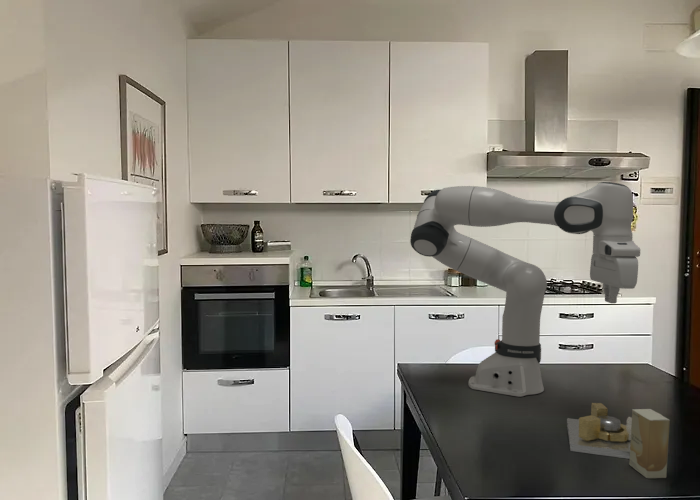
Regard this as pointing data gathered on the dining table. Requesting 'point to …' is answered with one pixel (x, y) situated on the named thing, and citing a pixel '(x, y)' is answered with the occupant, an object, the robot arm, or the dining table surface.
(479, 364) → the robot arm
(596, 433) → the ring nut
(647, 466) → the skincare box
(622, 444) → the housing
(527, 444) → the dining table surface
